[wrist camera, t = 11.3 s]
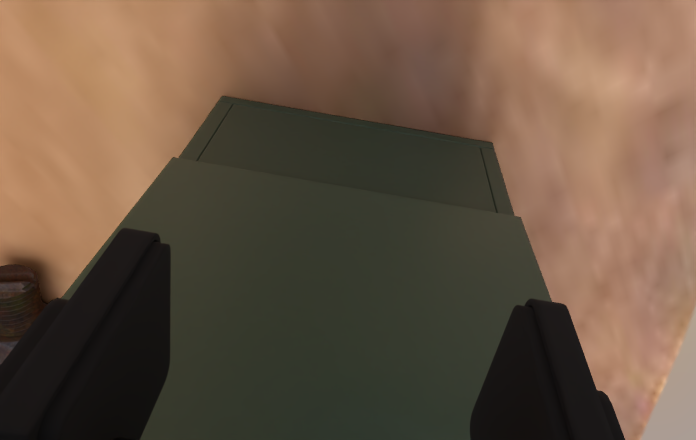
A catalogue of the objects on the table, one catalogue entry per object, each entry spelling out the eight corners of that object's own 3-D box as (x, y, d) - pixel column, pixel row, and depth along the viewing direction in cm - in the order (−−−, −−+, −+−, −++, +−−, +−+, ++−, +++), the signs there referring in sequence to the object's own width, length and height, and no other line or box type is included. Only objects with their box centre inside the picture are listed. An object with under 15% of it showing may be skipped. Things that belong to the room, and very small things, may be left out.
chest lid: (763, 962, 8) (1029, 825, 6) (-300, 804, 8) (-509, 587, 6) (515, 232, 26) (555, 117, 23) (172, 173, 25) (174, 50, 23)
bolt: (49, 243, 40) (74, 403, 48) (-40, 255, 38) (1, 421, 46) (56, 295, 36) (82, 462, 44) (-44, 311, 34) (2, 485, 41)
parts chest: (416, 388, 43) (419, 489, 36) (209, 354, 42) (174, 449, 36) (492, 142, 33) (516, 219, 26) (221, 95, 32) (175, 160, 26)
